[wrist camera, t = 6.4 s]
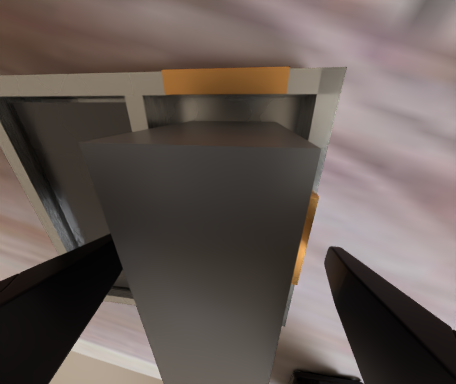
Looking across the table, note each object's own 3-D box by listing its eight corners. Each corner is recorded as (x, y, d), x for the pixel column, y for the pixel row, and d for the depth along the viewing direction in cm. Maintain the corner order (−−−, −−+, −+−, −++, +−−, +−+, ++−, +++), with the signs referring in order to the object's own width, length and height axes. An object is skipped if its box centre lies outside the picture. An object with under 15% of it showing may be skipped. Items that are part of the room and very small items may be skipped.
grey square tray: (279, 290, 13) (285, 331, 11) (107, 270, 15) (78, 301, 12) (319, 79, 7) (351, 64, 5) (31, 84, 9) (-50, 75, 7)
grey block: (258, 276, 12) (263, 408, 7) (202, 270, 13) (165, 388, 7) (275, 121, 8) (320, 148, 3) (190, 121, 8) (79, 143, 3)
